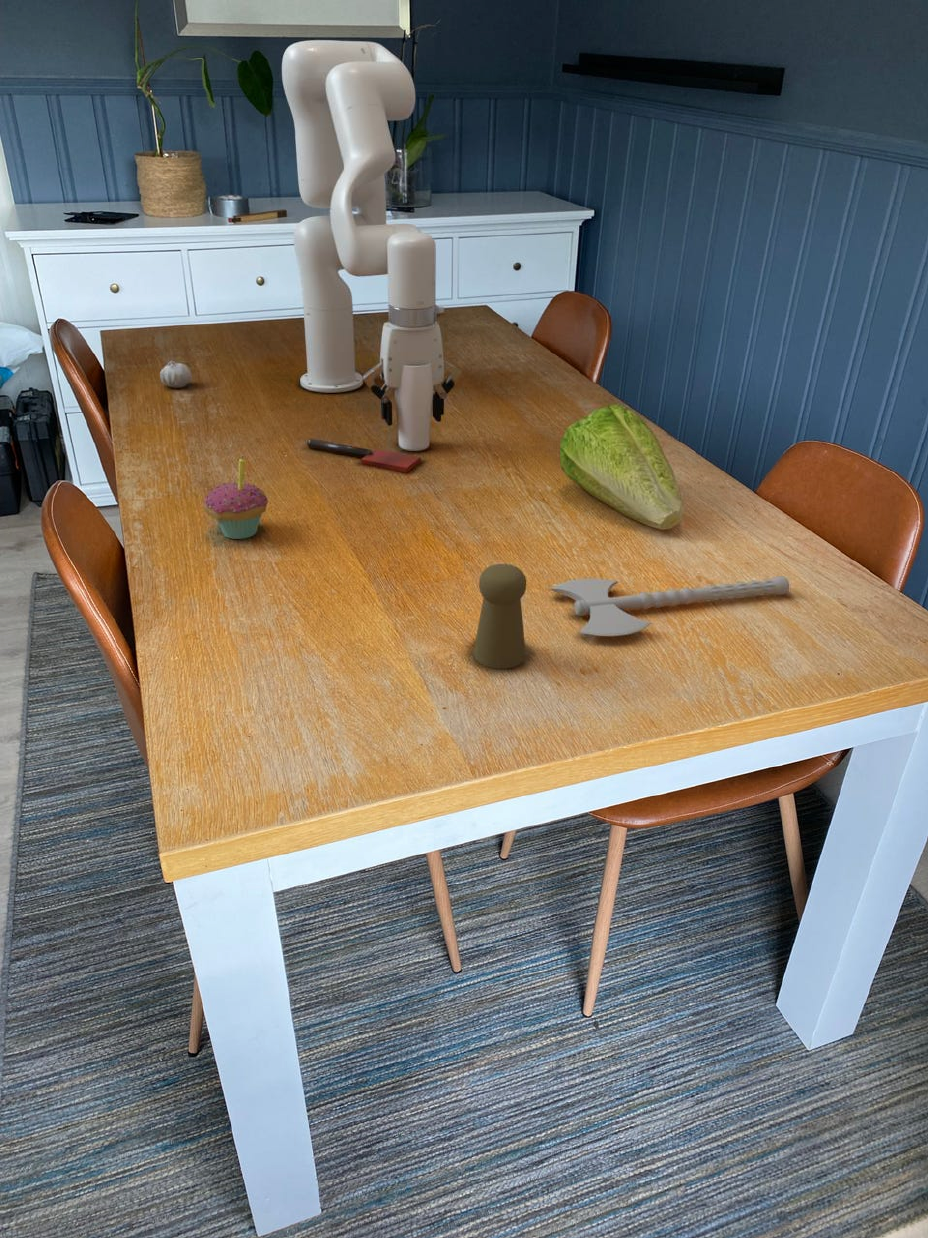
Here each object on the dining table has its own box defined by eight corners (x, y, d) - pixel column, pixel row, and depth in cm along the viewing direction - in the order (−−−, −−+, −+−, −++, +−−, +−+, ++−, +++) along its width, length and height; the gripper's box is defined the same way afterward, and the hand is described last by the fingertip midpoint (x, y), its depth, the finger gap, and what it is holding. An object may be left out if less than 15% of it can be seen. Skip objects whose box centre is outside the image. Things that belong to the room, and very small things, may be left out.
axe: (756, 568, 129) (759, 552, 128) (812, 620, 117) (816, 603, 116) (545, 590, 122) (546, 574, 121) (582, 648, 111) (584, 631, 110)
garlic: (169, 392, 186) (165, 366, 184) (157, 385, 190) (154, 359, 187) (198, 387, 190) (194, 361, 187) (186, 380, 193) (182, 354, 190)
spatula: (299, 452, 161) (299, 443, 160) (316, 442, 165) (315, 433, 165) (406, 472, 155) (406, 463, 154) (420, 461, 159) (420, 452, 158)
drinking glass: (436, 440, 167) (436, 355, 159) (431, 455, 161) (431, 367, 154) (397, 438, 168) (396, 353, 160) (391, 452, 162) (389, 365, 154)
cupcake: (281, 526, 137) (274, 447, 130) (246, 550, 130) (237, 468, 124) (232, 514, 140) (223, 436, 133) (195, 537, 133) (184, 456, 127)
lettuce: (618, 513, 129) (706, 453, 129) (538, 429, 145) (617, 376, 144) (643, 573, 140) (724, 517, 140) (566, 489, 155) (639, 439, 155)
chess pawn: (470, 640, 112) (473, 557, 106) (521, 639, 112) (526, 556, 107) (475, 669, 107) (478, 583, 101) (529, 668, 107) (535, 582, 102)
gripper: (457, 307, 158) (455, 410, 167) (354, 312, 154) (358, 417, 163) (470, 318, 152) (468, 424, 161) (363, 324, 148) (366, 432, 157)
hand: (412, 420), depth 162 cm, fingers open, 8 cm apart
